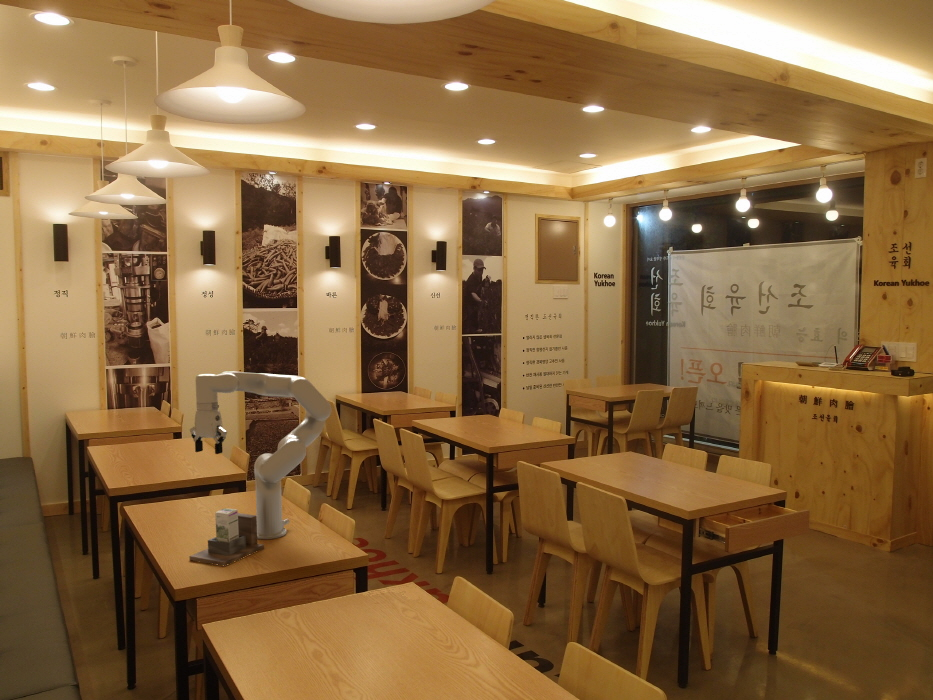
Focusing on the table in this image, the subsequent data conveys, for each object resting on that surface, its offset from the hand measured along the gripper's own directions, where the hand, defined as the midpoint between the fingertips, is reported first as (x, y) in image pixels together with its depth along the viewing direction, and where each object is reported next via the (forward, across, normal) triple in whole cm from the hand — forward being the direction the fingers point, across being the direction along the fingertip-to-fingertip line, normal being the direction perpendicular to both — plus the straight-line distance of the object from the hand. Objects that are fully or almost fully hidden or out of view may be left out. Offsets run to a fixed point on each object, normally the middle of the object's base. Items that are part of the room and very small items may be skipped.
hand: (208, 452), depth 274 cm
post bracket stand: (+34, -15, +8) cm, 38 cm away
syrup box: (+33, -15, +8) cm, 37 cm away
